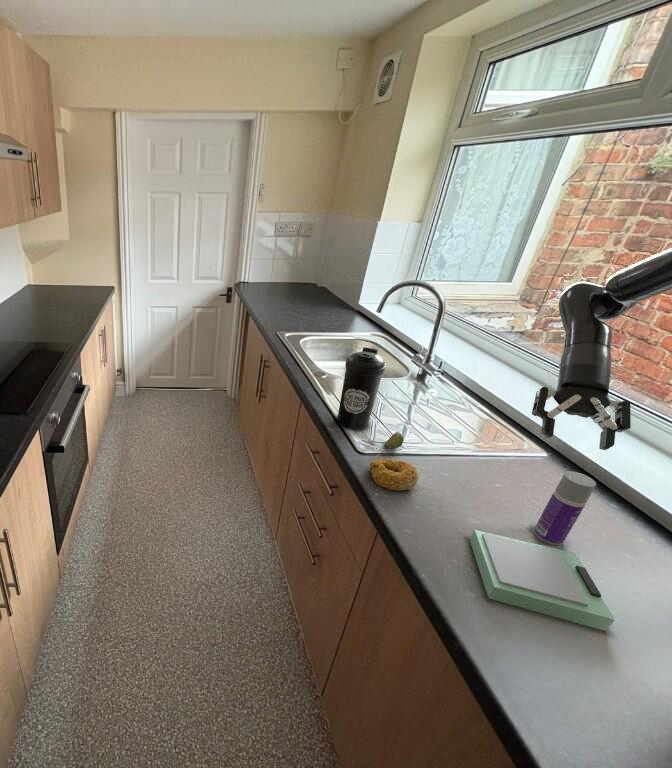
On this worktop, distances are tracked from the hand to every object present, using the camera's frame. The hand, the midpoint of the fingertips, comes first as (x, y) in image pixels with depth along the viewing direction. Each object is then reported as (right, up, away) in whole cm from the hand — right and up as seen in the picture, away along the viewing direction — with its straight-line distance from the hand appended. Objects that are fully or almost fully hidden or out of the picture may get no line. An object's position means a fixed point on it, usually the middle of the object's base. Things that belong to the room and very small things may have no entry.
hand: (576, 442), depth 83 cm
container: (-4, -20, +2) cm, 20 cm away
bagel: (-27, -12, +19) cm, 35 cm away
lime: (-20, -6, +30) cm, 37 cm away
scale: (-16, -24, -7) cm, 30 cm away
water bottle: (-25, 0, +42) cm, 49 cm away
